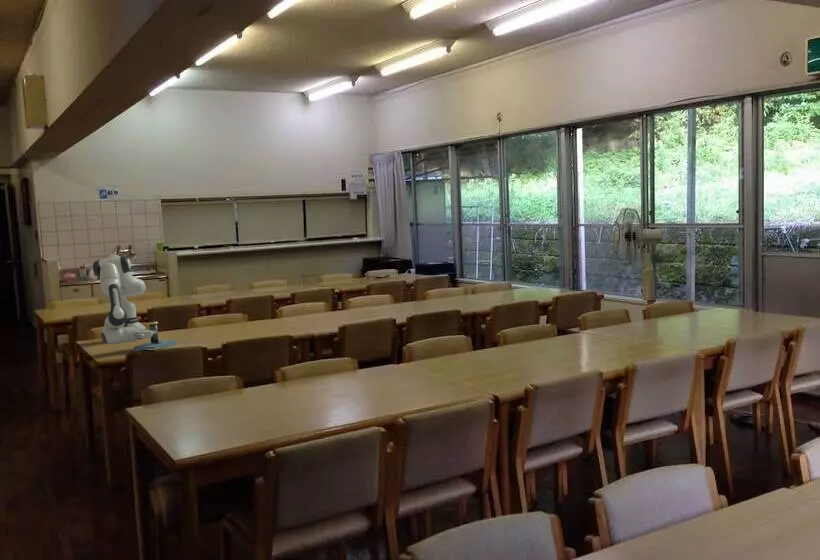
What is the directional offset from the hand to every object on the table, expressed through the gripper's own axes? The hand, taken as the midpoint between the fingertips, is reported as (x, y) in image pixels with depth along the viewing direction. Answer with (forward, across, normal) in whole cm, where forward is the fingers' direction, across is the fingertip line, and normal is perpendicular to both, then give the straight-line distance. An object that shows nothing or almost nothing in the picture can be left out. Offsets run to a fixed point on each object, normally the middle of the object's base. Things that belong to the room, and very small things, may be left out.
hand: (155, 331), depth 433 cm
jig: (-1, 0, +10) cm, 10 cm away
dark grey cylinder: (-1, 0, +7) cm, 7 cm away
